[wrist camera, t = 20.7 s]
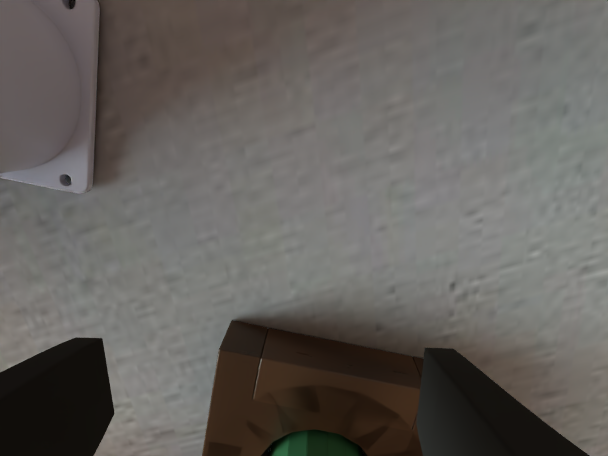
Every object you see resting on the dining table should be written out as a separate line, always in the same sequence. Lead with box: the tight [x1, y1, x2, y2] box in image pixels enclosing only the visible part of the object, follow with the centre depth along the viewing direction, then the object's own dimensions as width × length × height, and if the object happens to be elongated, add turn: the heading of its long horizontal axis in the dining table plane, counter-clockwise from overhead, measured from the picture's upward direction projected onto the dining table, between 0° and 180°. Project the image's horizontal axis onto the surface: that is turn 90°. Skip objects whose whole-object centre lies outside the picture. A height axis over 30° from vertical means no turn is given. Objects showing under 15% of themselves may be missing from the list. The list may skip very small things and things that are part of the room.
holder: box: [202, 320, 424, 456], centre depth 19 cm, size 11×12×2 cm
